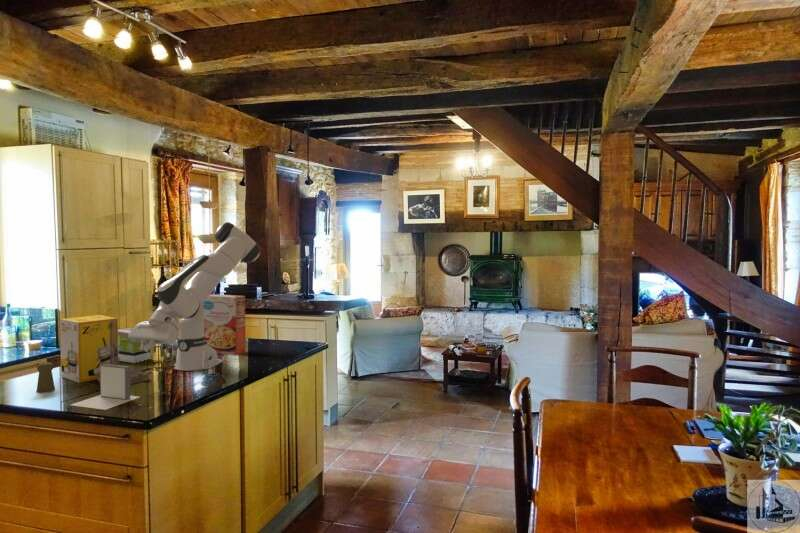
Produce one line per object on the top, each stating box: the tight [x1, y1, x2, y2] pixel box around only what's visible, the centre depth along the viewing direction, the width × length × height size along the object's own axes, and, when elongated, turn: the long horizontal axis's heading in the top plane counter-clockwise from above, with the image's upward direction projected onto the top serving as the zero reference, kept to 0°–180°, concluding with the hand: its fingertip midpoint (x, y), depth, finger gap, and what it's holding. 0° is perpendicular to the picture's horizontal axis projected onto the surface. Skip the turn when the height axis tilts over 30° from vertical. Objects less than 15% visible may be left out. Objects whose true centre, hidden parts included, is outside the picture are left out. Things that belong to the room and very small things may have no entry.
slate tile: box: [99, 364, 131, 400], centre depth 195 cm, size 2×12×12 cm, turn 73°
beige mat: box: [70, 394, 140, 411], centre depth 191 cm, size 16×16×1 cm
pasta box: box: [204, 293, 246, 356], centre depth 279 cm, size 23×8×30 cm, turn 71°
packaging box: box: [59, 314, 120, 384], centre depth 227 cm, size 16×16×25 cm
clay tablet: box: [96, 369, 150, 385], centre depth 220 cm, size 14×5×20 cm
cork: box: [36, 361, 56, 394], centre depth 205 cm, size 6×6×11 cm
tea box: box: [118, 327, 151, 364], centre depth 258 cm, size 15×10×15 cm
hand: (143, 350), depth 207 cm, fingers closed
